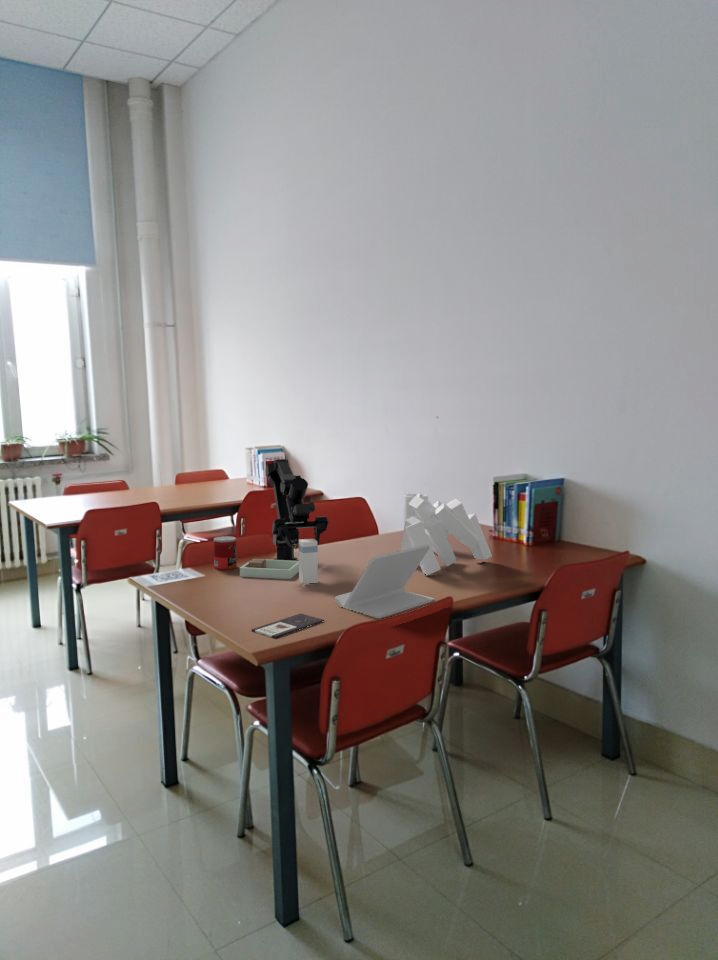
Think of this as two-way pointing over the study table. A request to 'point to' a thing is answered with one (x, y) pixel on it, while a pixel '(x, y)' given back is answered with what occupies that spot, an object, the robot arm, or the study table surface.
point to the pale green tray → (272, 569)
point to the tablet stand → (386, 585)
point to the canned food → (225, 553)
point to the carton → (308, 561)
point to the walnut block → (257, 563)
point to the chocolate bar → (286, 625)
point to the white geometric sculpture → (442, 532)
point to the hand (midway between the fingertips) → (304, 545)
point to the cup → (407, 509)
